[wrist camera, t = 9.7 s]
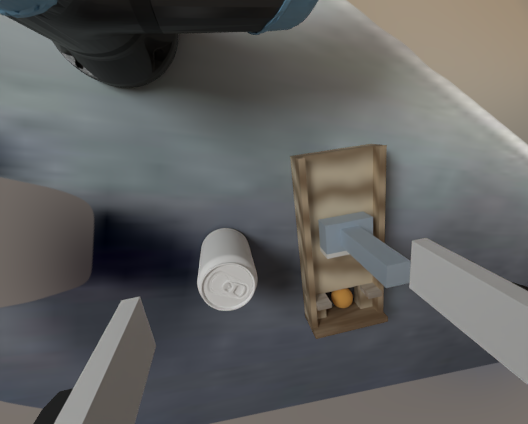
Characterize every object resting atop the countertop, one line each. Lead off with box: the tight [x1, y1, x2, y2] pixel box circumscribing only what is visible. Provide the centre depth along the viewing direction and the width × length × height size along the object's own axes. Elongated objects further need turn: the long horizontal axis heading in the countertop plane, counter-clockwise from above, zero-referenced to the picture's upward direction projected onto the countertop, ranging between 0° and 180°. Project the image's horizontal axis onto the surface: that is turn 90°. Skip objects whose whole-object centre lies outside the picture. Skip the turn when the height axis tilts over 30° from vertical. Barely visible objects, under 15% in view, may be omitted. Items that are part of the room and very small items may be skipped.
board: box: [290, 144, 388, 339], centre depth 46 cm, size 32×14×6 cm, turn 8°
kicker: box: [318, 212, 411, 288], centre depth 38 cm, size 6×8×15 cm
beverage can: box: [197, 228, 257, 311], centre depth 40 cm, size 8×8×12 cm
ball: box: [331, 288, 353, 308], centre depth 51 cm, size 4×4×4 cm
